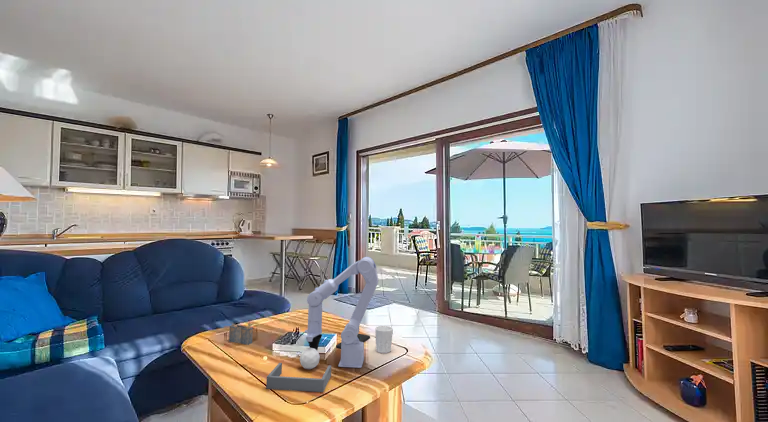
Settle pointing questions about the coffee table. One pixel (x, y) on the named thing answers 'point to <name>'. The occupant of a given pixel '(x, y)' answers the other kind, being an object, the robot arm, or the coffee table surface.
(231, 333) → the ruin model on sheet
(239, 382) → the coffee table surface
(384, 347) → the white cup
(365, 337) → the smart home device
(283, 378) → the box
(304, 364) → the geometric ball
